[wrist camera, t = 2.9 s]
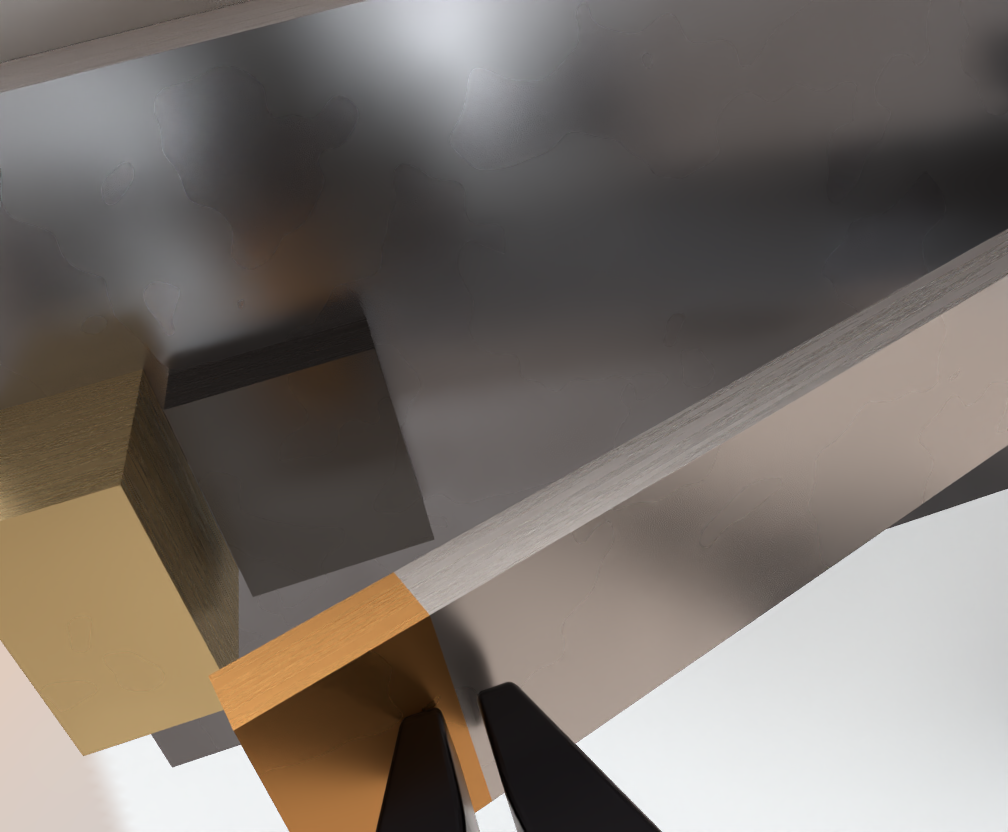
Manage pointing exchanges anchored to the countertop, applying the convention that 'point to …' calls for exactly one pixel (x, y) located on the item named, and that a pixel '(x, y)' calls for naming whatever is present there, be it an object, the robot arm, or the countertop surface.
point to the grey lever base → (420, 286)
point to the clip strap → (637, 551)
